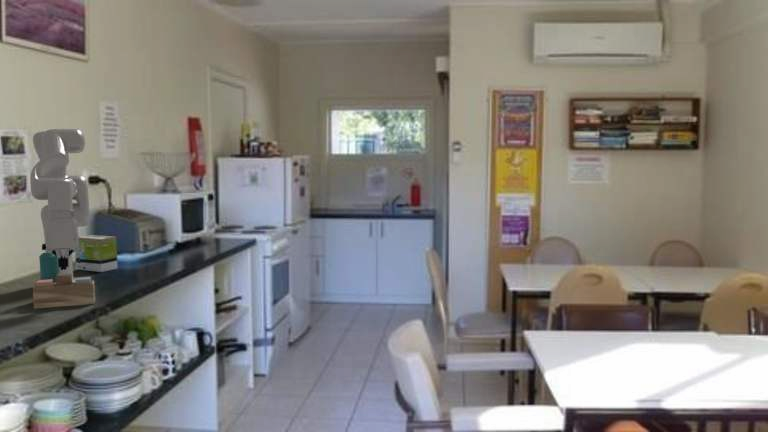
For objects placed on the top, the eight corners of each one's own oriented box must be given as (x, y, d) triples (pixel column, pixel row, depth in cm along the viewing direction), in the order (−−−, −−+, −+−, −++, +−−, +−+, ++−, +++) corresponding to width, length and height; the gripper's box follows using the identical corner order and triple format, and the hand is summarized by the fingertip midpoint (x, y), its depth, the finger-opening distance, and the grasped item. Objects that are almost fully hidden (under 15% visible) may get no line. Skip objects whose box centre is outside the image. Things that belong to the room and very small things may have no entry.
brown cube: (57, 289, 241) (57, 274, 241) (72, 288, 243) (71, 273, 242) (56, 291, 237) (55, 276, 236) (71, 290, 238) (70, 275, 238)
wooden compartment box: (36, 304, 240) (35, 284, 240) (95, 300, 246) (94, 280, 246) (33, 308, 234) (32, 287, 233) (94, 303, 240) (93, 283, 239)
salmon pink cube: (38, 294, 239) (38, 280, 239) (53, 293, 241) (52, 279, 240) (37, 297, 235) (36, 282, 234) (52, 296, 236) (51, 281, 236)
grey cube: (77, 291, 243) (76, 277, 243) (91, 290, 245) (90, 276, 244) (76, 294, 239) (75, 280, 238) (90, 293, 240) (89, 279, 240)
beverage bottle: (53, 301, 245) (50, 244, 243) (36, 300, 246) (33, 244, 244) (65, 297, 251) (62, 242, 249) (49, 297, 252) (46, 241, 250)
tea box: (75, 270, 309) (73, 237, 307) (92, 266, 318) (90, 234, 316) (101, 272, 303) (100, 238, 302) (118, 268, 312) (117, 235, 311)
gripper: (85, 213, 243) (88, 266, 245) (37, 215, 238) (40, 269, 240) (84, 215, 236) (86, 269, 238) (34, 217, 231) (38, 272, 233)
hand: (63, 269), depth 239 cm, fingers closed
